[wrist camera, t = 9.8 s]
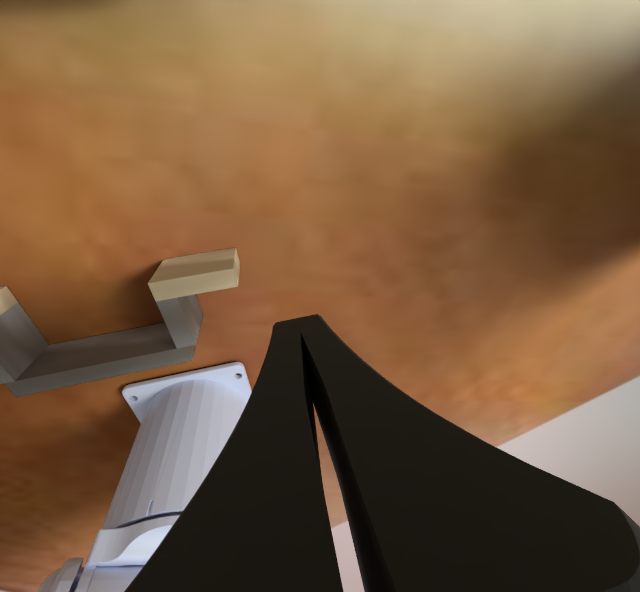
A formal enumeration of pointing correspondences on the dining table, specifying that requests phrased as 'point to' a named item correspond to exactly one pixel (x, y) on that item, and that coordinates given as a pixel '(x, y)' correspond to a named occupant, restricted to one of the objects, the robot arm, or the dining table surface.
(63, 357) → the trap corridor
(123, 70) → the dining table surface
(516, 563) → the robot arm
